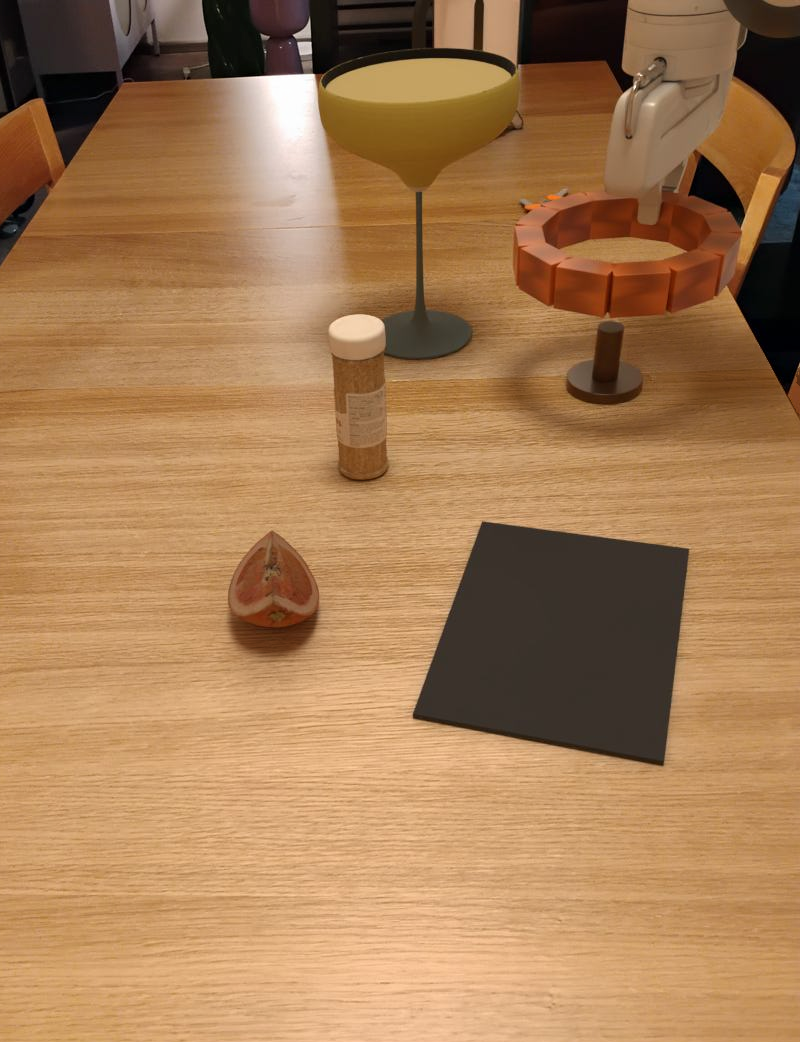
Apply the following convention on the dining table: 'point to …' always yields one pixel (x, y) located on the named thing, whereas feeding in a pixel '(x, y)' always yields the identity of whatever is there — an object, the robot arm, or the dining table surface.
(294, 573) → the fruit slice
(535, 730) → the mat
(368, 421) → the sprinkles bottle
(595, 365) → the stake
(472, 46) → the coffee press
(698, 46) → the robot arm
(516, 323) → the dining table surface
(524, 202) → the key chain
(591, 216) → the ring
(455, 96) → the cocktail glass
